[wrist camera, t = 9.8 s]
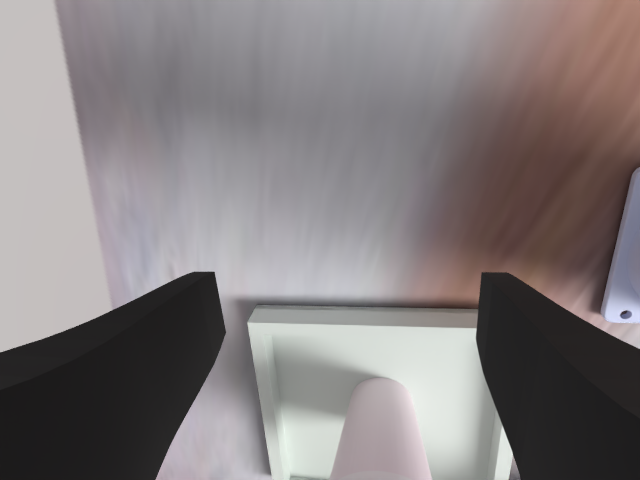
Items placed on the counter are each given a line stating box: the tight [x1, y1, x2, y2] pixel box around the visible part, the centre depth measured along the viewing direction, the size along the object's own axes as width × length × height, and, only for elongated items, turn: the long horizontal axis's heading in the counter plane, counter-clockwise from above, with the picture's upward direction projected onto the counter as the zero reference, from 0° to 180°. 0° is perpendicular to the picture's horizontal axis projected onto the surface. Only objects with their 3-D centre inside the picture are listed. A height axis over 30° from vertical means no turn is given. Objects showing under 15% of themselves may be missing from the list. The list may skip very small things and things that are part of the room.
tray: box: [247, 305, 513, 480], centre depth 25 cm, size 15×15×2 cm
